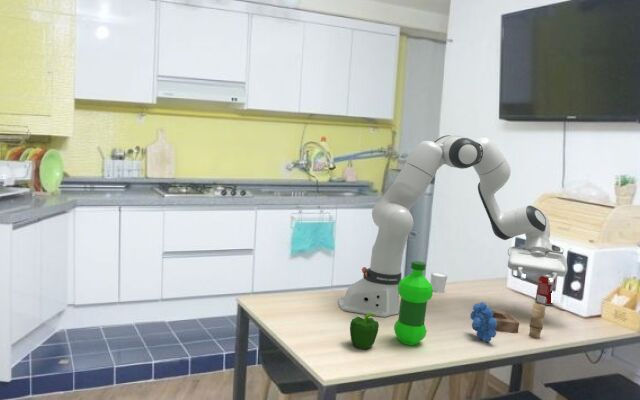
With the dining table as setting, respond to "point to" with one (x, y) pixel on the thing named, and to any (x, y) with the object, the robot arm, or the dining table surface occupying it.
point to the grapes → (483, 321)
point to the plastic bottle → (413, 305)
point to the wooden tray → (505, 322)
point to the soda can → (544, 290)
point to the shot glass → (438, 282)
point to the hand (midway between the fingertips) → (536, 281)
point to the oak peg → (537, 320)
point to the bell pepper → (363, 331)
